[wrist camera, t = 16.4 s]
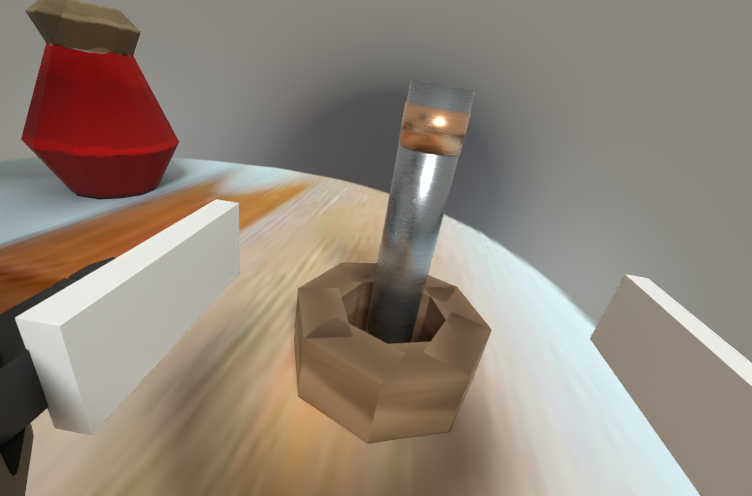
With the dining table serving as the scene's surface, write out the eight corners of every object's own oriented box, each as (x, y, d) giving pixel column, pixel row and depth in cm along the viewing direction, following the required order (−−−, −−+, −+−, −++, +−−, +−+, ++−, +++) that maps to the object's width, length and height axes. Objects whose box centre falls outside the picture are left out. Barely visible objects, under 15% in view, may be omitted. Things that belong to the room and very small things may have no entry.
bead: (292, 310, 28) (295, 262, 26) (427, 307, 32) (438, 264, 30) (302, 452, 18) (308, 390, 16) (500, 424, 22) (524, 371, 20)
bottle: (92, 218, 37) (44, -11, 28) (5, 187, 40) (-63, -27, 31) (205, 186, 50) (196, 26, 42) (133, 165, 54) (111, 12, 45)
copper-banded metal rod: (355, 345, 26) (400, 78, 18) (396, 343, 27) (457, 88, 19) (364, 380, 23) (424, 81, 15) (411, 376, 24) (489, 93, 16)
